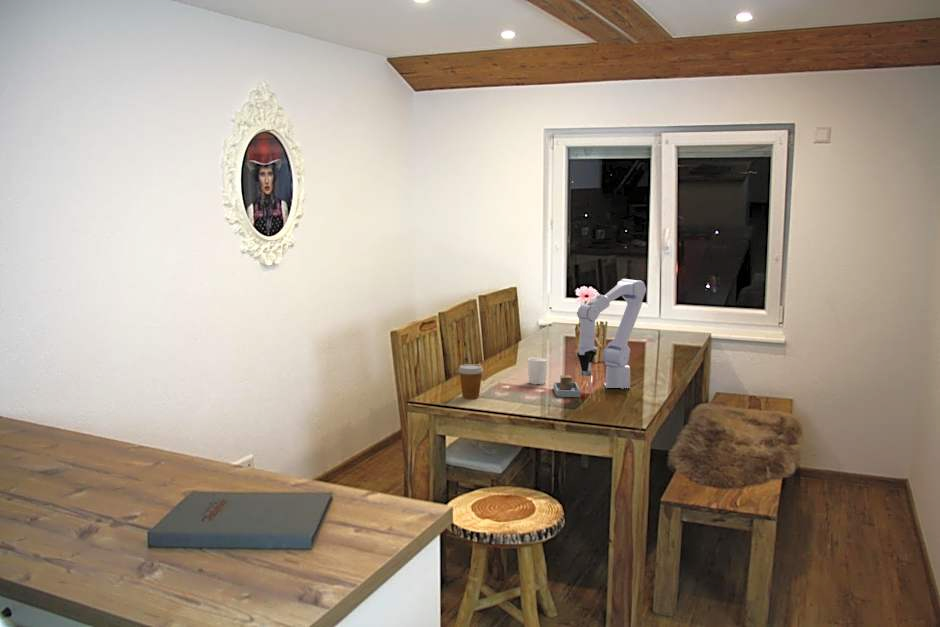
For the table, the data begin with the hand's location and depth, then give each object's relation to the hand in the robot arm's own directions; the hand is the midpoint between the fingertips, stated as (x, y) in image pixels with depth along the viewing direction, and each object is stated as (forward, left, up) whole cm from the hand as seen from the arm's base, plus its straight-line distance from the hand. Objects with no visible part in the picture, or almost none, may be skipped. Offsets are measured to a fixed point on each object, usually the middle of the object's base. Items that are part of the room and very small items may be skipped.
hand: (586, 369), depth 310 cm
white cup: (+18, -16, -9) cm, 25 cm away
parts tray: (+7, 0, -9) cm, 12 cm away
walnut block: (+7, -3, -8) cm, 12 cm away
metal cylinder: (0, 0, -2) cm, 2 cm away
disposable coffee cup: (+45, +8, -9) cm, 47 cm away
